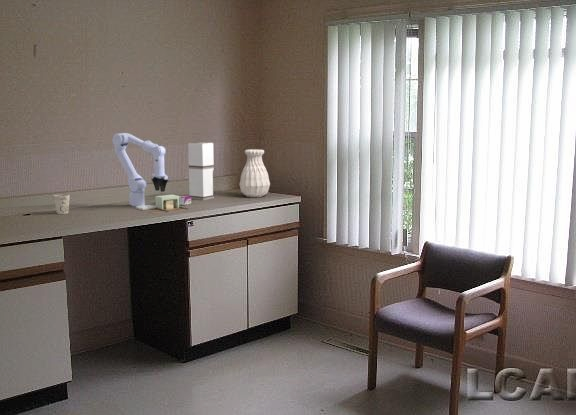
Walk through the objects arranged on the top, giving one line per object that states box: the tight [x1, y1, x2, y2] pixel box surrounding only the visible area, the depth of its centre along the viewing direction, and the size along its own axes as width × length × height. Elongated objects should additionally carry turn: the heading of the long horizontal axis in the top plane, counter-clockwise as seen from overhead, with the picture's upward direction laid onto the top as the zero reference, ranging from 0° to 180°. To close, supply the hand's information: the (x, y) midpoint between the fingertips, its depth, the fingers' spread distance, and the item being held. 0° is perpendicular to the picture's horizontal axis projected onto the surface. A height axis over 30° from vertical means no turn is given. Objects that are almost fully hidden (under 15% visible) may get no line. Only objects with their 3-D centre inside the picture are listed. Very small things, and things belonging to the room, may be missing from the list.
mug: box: [53, 193, 71, 215], centre depth 361 cm, size 8×13×10 cm, turn 27°
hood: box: [154, 194, 180, 209], centre depth 371 cm, size 7×11×7 cm, turn 131°
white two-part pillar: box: [187, 141, 215, 201], centre depth 413 cm, size 11×11×35 cm
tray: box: [135, 204, 156, 211], centre depth 370 cm, size 8×8×1 cm
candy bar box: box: [178, 195, 192, 206], centre depth 389 cm, size 11×5×16 cm
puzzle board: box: [133, 205, 189, 214], centre depth 369 cm, size 23×22×1 cm
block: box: [163, 199, 173, 209], centre depth 371 cm, size 4×4×5 cm
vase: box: [239, 148, 271, 198], centre depth 423 cm, size 20×20×30 cm
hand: (160, 191), depth 376 cm, fingers open, 5 cm apart
